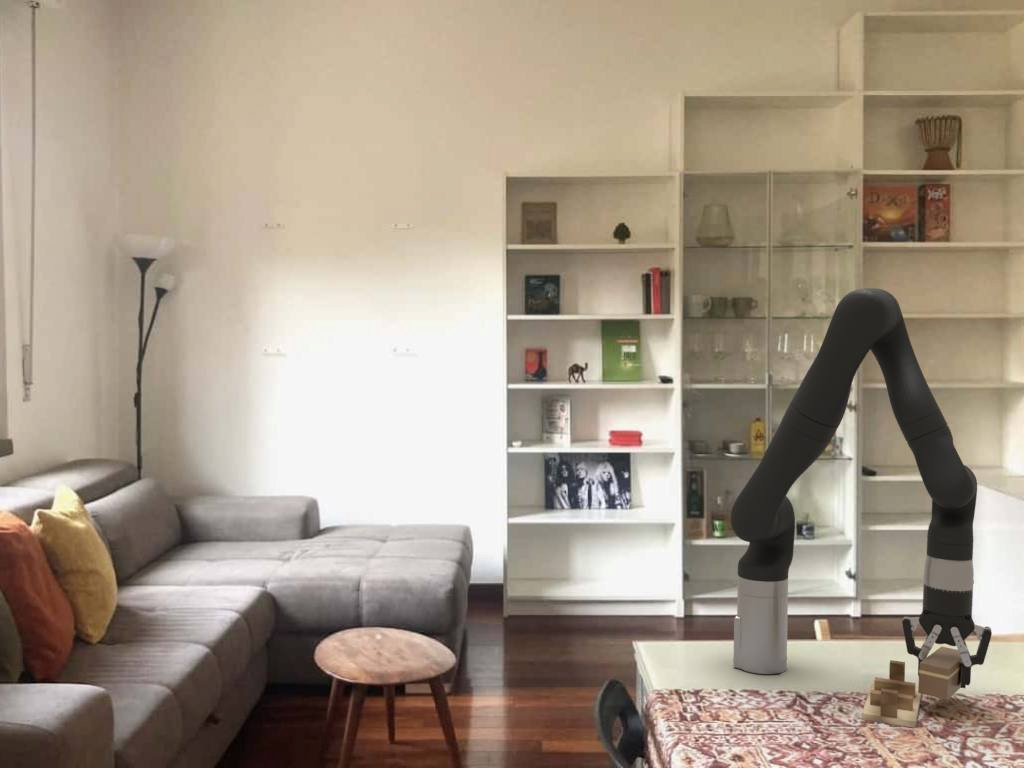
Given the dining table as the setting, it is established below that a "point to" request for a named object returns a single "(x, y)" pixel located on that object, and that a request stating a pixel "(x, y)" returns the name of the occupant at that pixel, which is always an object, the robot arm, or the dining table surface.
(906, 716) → the display cradle
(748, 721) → the dining table surface
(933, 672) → the brown rectangular box
